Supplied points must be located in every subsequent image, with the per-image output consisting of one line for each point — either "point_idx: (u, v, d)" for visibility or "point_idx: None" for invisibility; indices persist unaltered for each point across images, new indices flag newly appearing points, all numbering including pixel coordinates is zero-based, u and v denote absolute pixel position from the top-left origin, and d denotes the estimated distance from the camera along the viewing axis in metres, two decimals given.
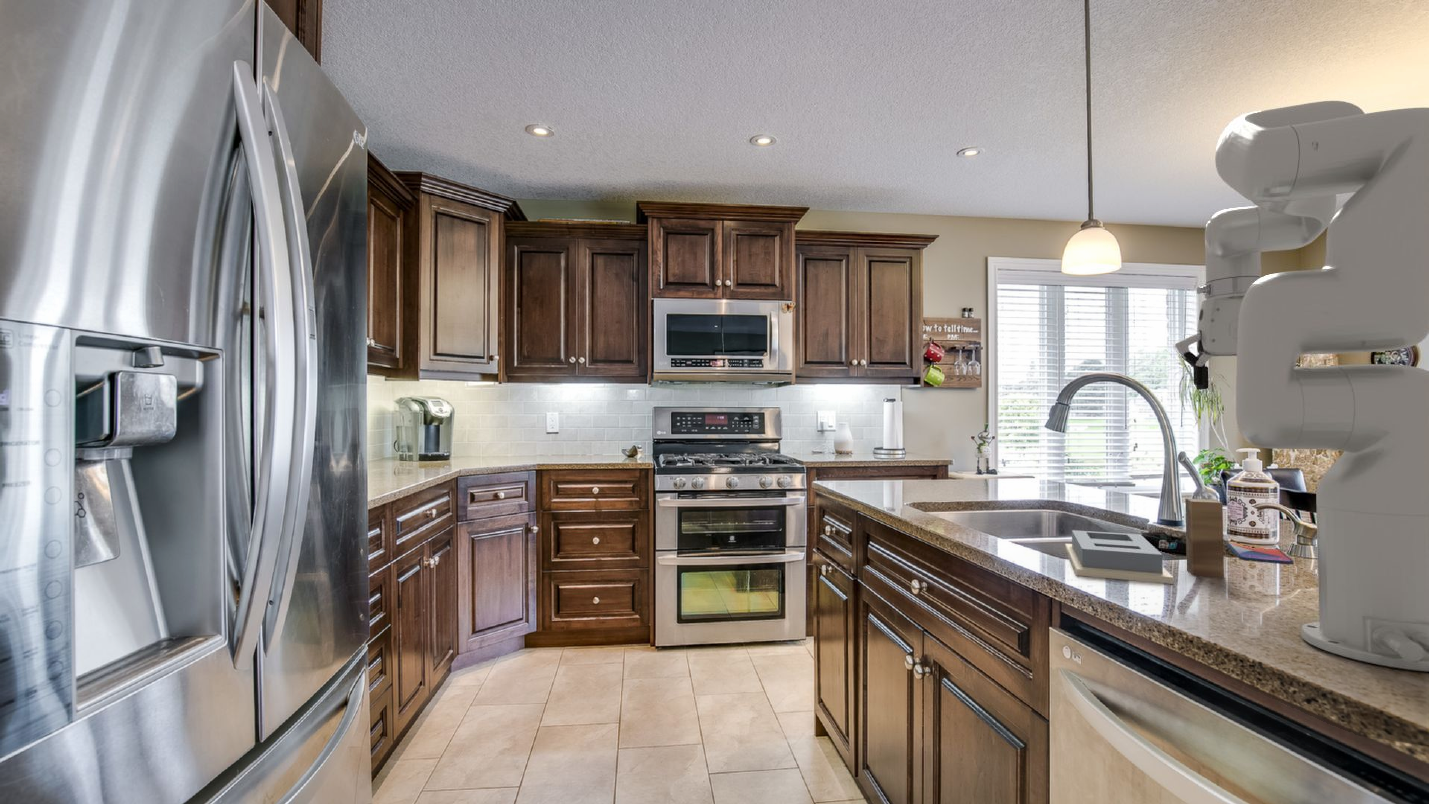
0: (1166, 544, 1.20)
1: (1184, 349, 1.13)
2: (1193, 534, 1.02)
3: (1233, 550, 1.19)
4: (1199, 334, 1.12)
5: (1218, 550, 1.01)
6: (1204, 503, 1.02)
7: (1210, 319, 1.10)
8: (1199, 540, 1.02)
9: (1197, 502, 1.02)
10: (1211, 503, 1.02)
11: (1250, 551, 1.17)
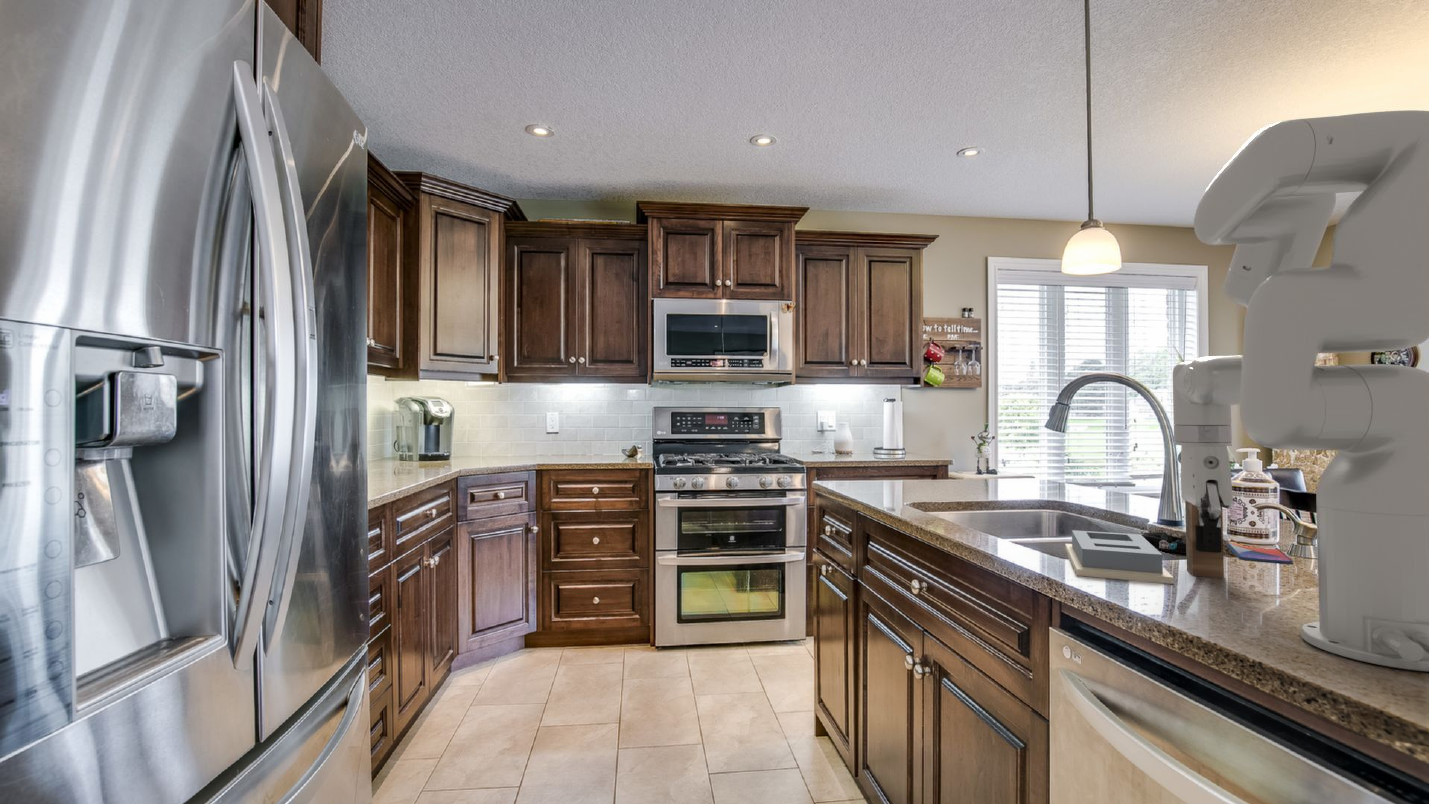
0: (1166, 544, 1.20)
1: None
2: (1193, 534, 1.02)
3: (1233, 550, 1.19)
4: (1216, 490, 0.99)
5: None
6: (1204, 503, 1.02)
7: (1230, 470, 0.99)
8: None
9: None
10: None
11: (1250, 551, 1.17)
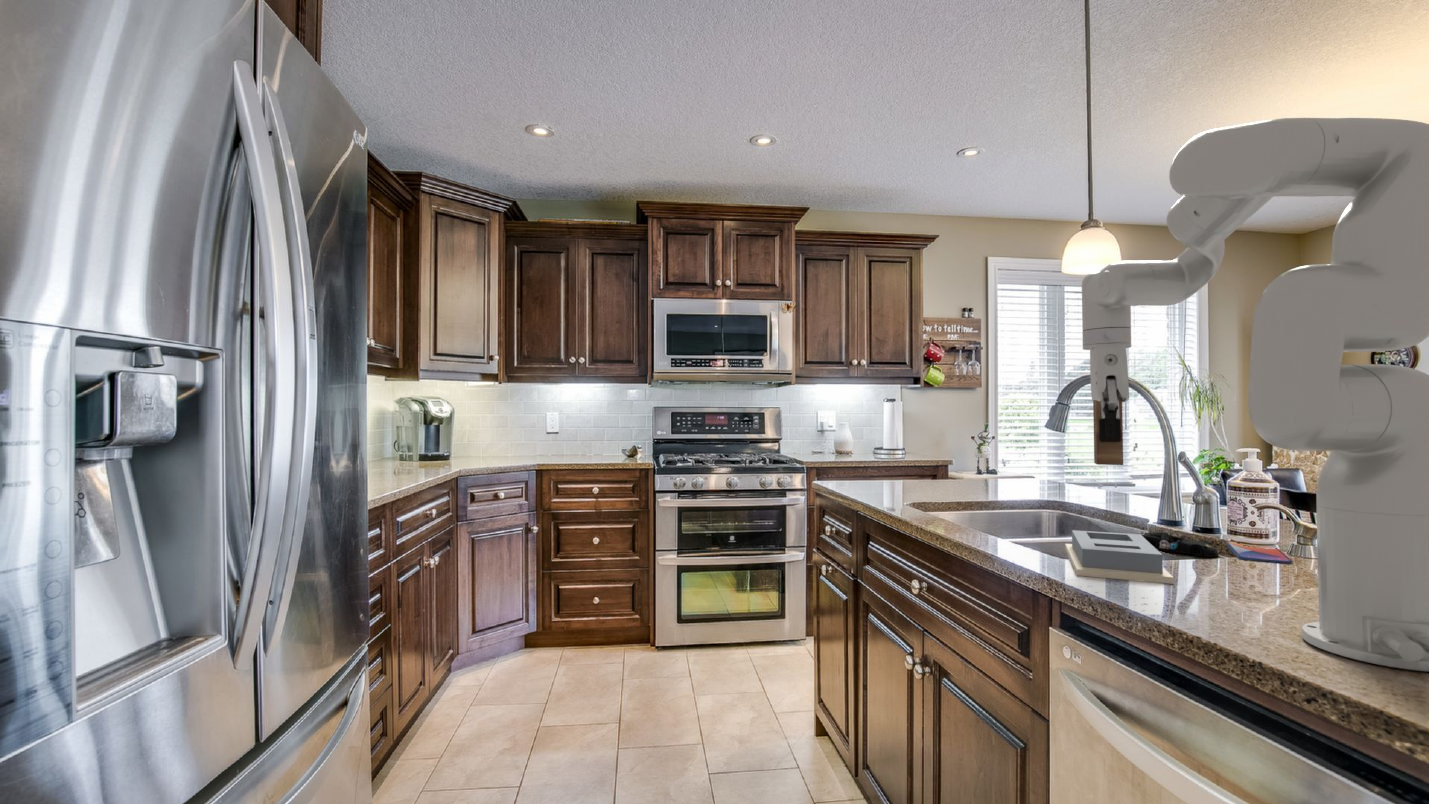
0: (1167, 544, 1.19)
1: None
2: (1097, 427, 1.14)
3: (1232, 550, 1.19)
4: (1115, 384, 1.10)
5: None
6: (1106, 398, 1.13)
7: (1127, 366, 1.10)
8: None
9: None
10: None
11: (1249, 551, 1.17)
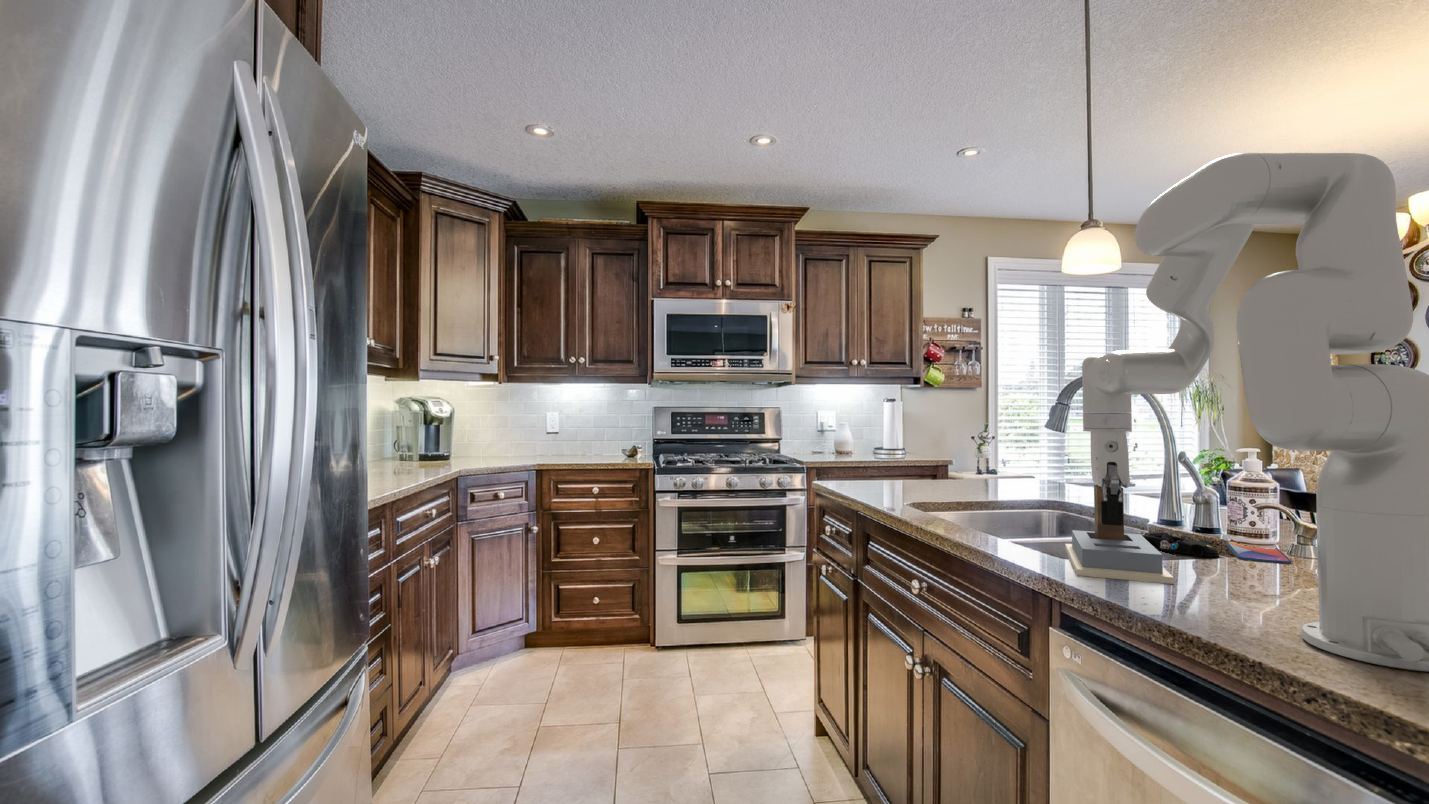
0: (1167, 544, 1.19)
1: None
2: (1098, 517, 1.14)
3: (1232, 550, 1.19)
4: (1116, 468, 1.10)
5: (1119, 531, 1.12)
6: None
7: (1127, 453, 1.10)
8: None
9: None
10: None
11: (1249, 551, 1.17)
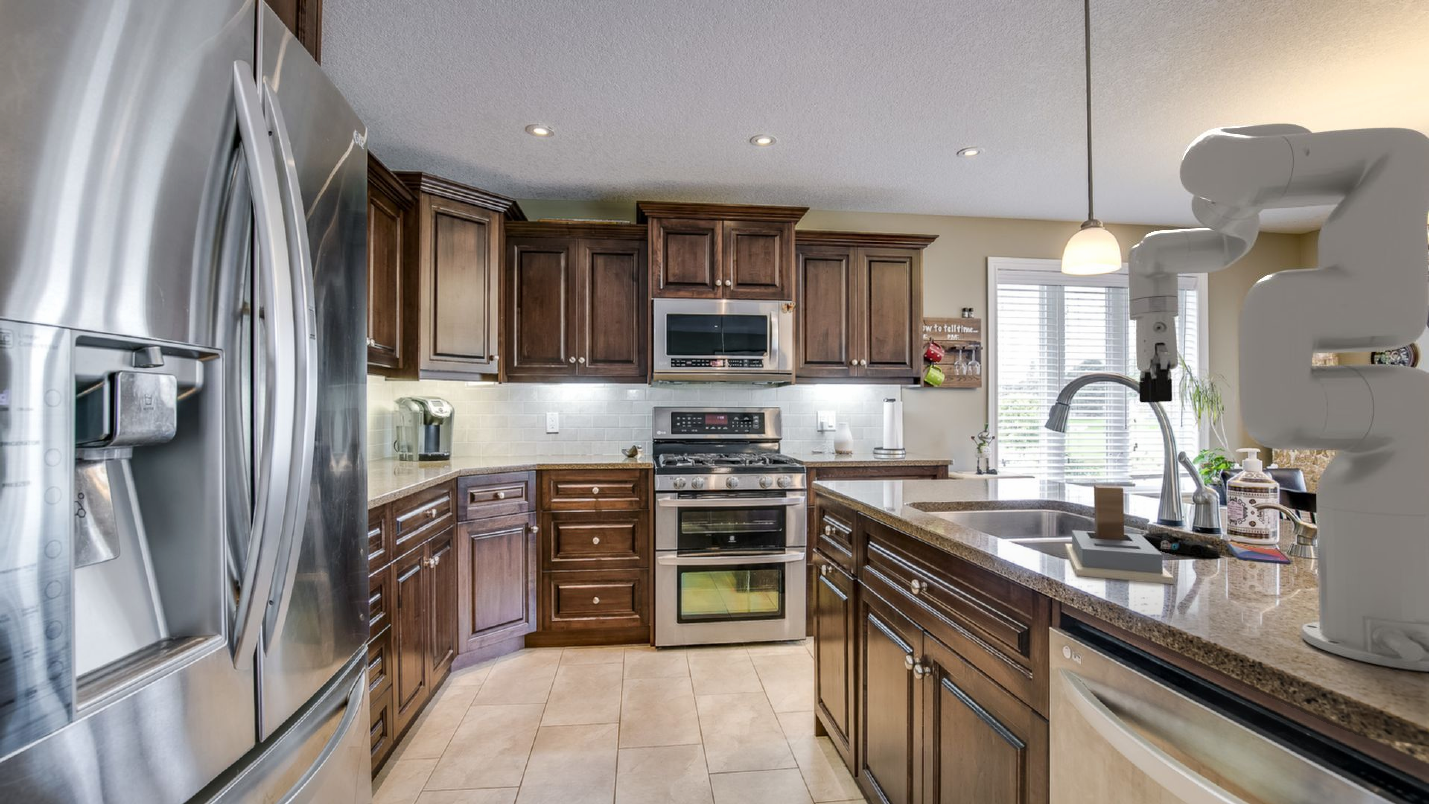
0: (1168, 545, 1.19)
1: None
2: (1098, 517, 1.14)
3: (1232, 550, 1.19)
4: (1164, 346, 1.12)
5: (1119, 531, 1.12)
6: (1107, 489, 1.13)
7: (1175, 333, 1.13)
8: (1103, 522, 1.13)
9: (1102, 488, 1.13)
10: (1113, 489, 1.13)
11: (1249, 551, 1.17)
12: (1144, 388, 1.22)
